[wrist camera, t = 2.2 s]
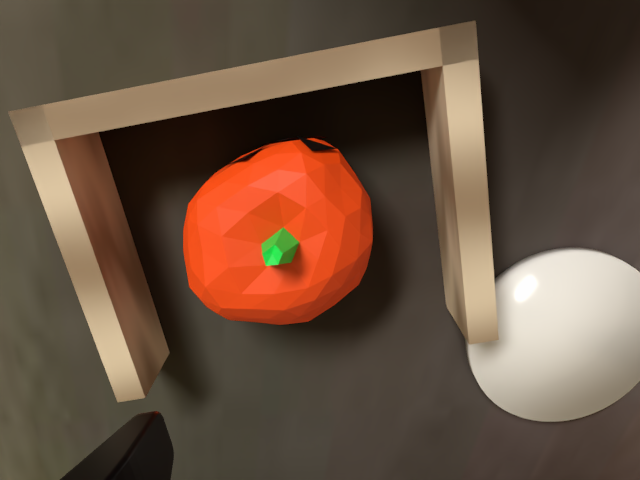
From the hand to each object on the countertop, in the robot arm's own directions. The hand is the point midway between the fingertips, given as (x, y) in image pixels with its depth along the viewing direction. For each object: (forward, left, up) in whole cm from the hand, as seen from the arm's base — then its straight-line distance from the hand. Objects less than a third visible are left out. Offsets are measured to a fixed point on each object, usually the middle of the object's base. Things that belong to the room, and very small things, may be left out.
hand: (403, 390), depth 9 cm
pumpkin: (0, +3, -13) cm, 14 cm away
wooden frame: (+1, +3, -13) cm, 13 cm away
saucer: (-8, -9, -13) cm, 18 cm away
